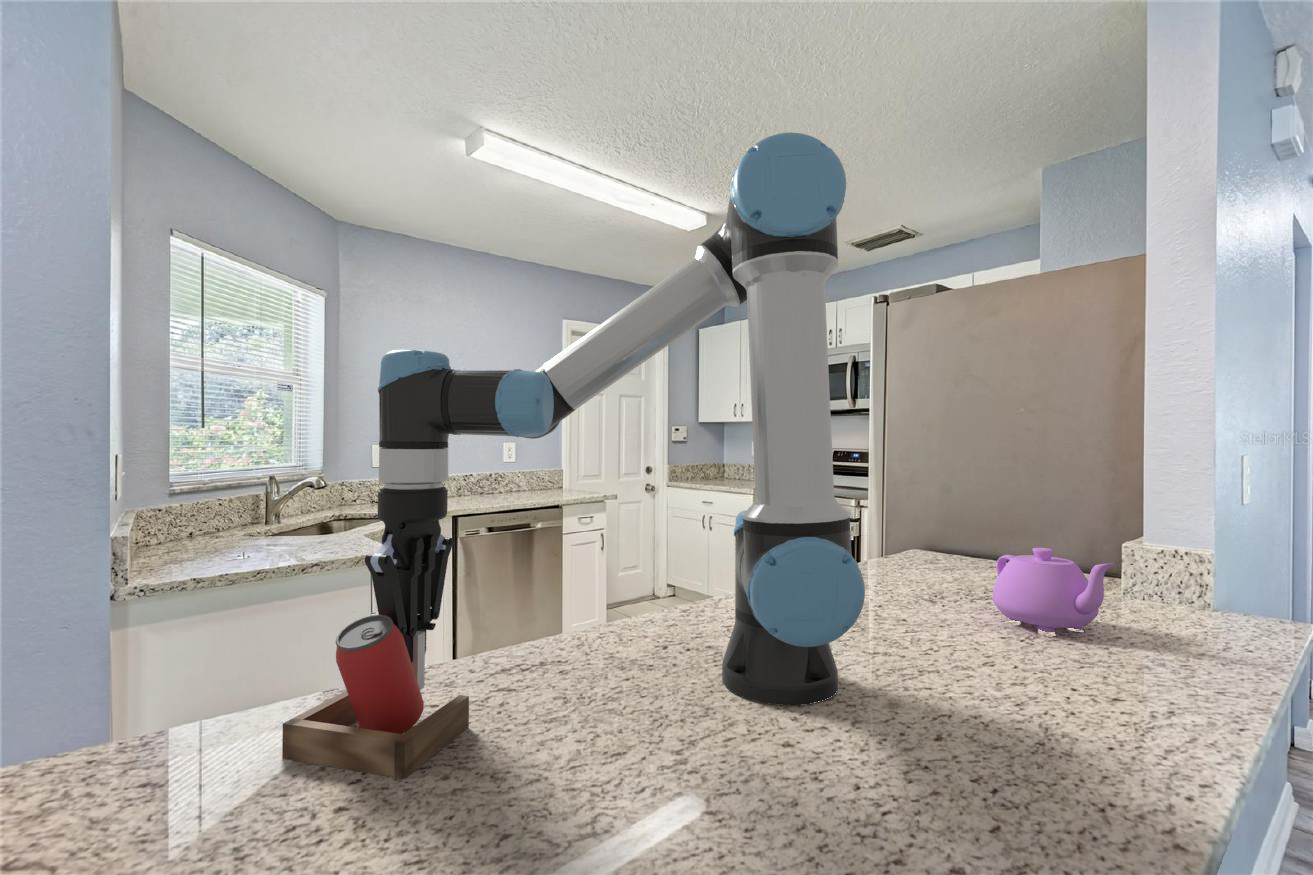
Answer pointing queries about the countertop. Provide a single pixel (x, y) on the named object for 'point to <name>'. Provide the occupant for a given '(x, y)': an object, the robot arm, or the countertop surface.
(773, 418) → the robot arm
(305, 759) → the walnut bay
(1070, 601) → the teapot
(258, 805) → the countertop surface
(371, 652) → the beer can
